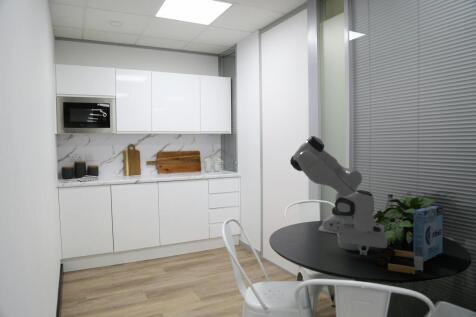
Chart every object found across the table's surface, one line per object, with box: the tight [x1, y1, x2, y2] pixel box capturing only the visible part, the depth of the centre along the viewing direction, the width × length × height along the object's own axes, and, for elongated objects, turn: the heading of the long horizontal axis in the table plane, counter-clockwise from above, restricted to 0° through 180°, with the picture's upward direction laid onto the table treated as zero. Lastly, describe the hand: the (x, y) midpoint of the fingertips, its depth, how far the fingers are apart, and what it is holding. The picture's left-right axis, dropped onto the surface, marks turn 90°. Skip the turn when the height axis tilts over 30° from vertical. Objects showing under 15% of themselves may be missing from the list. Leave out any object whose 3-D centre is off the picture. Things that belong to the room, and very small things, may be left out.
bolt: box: [377, 246, 396, 266], centre depth 148 cm, size 6×5×15 cm
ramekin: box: [336, 231, 363, 251], centre depth 169 cm, size 13×13×7 cm
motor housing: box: [387, 246, 424, 275], centre depth 144 cm, size 13×22×7 cm, turn 153°
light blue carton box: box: [412, 205, 444, 263], centre depth 154 cm, size 20×5×23 cm, turn 126°
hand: (363, 254), depth 152 cm, fingers closed
